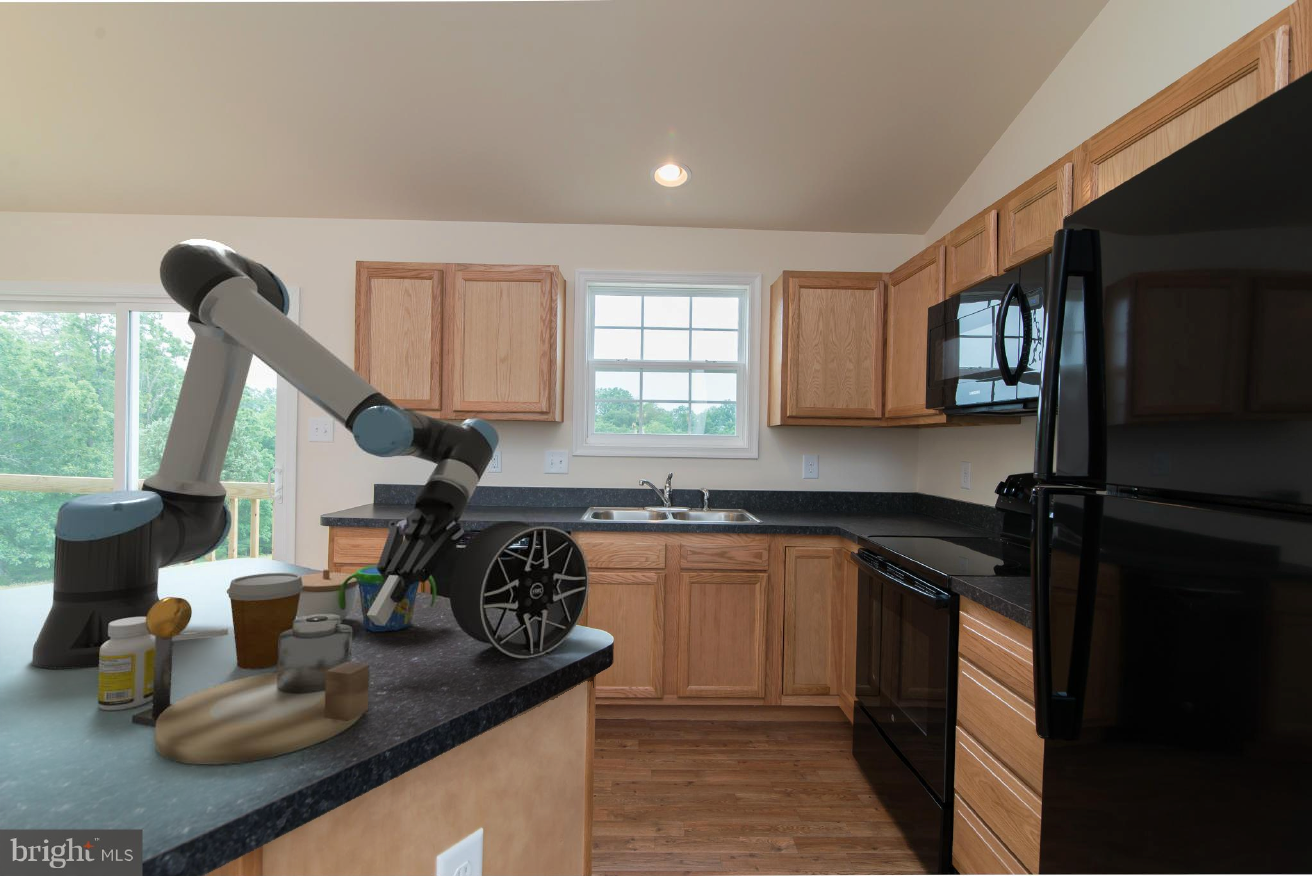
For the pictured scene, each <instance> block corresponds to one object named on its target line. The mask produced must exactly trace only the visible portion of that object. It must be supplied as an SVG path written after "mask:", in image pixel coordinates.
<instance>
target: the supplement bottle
mask: <svg viewBox="0 0 1312 876" xmlns="http://www.w3.org/2000/svg"><path fill="white" fill-rule="evenodd" d="M108 636H109V637H111V639H110V640H108V641H107V642H105V643H104V644H103V645H102V646H101V648H100V653H99V665H98V685H97V688H98V689H97V693H98V694H97V705H98V708H99V709H101V710H103V711H107V712H108V711H110V712H111V711H114V712H115V711H122V710H127V709H131V708H135V707H139V706H143V705H144V704H147V703H149V702H152V701H153V680H154V658H155V636H153V635H150V634H149V632H148V630H147V628H146V617H131V618H124V619H120V620H116V621H113V622H110V623H109V625H108Z"/></svg>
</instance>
